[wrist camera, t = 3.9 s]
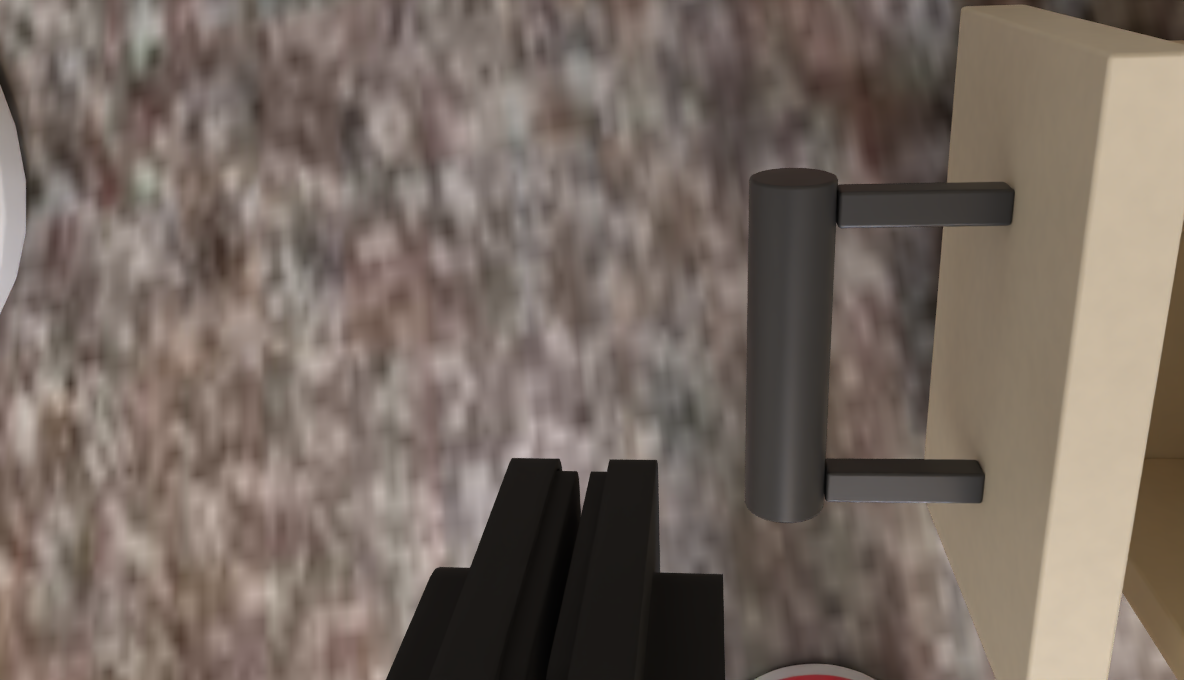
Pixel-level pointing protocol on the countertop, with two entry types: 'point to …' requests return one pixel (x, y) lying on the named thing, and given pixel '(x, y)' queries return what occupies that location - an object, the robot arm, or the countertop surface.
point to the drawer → (1012, 341)
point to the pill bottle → (814, 673)
